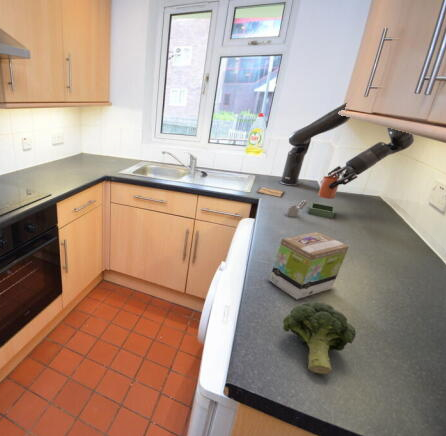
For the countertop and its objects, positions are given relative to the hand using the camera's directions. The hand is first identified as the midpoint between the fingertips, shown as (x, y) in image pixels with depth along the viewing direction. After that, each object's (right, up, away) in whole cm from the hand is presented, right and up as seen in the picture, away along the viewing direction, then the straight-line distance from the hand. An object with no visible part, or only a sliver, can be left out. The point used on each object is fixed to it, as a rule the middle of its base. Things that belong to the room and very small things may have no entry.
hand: (325, 185), depth 139 cm
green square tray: (+1, -13, +5) cm, 14 cm away
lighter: (-14, -15, +1) cm, 21 cm away
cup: (+1, -5, +2) cm, 6 cm away
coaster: (-9, 0, +34) cm, 35 cm away
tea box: (-43, -36, -51) cm, 76 cm away
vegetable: (-55, -45, -74) cm, 102 cm away
